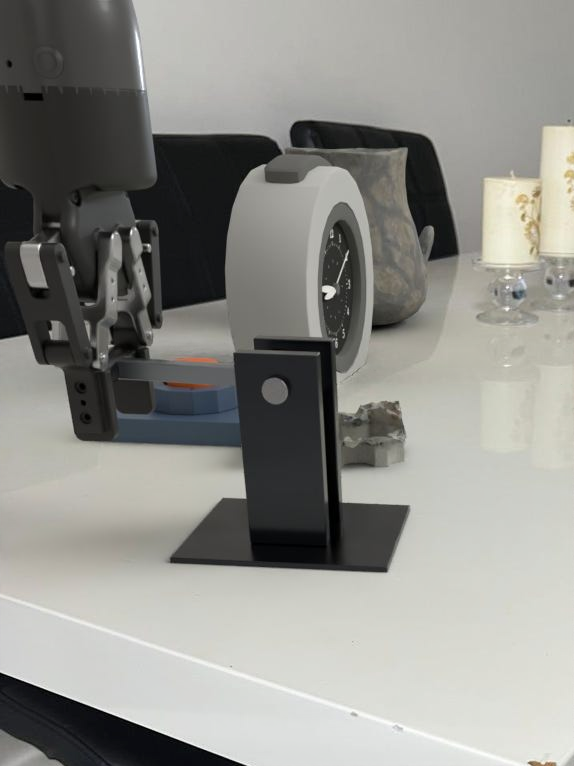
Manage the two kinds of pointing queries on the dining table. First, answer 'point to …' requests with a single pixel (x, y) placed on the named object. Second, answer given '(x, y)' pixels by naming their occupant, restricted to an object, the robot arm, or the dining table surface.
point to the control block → (185, 418)
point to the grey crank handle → (166, 369)
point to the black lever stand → (292, 473)
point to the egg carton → (372, 435)
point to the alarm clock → (301, 258)
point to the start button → (187, 385)
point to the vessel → (386, 228)
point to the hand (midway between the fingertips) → (118, 424)
